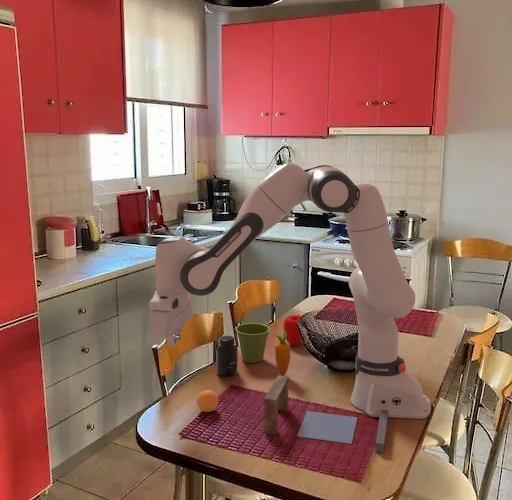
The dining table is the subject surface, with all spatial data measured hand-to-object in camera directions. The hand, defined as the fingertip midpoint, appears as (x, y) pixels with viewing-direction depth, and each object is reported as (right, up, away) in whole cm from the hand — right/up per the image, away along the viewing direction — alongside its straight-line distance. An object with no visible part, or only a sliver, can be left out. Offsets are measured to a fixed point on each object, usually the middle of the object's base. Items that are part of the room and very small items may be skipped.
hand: (174, 343), depth 162 cm
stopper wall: (+55, -22, -11) cm, 61 cm away
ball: (+9, -16, +1) cm, 19 cm away
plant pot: (+22, -12, +38) cm, 45 cm away
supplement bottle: (+13, -14, +27) cm, 33 cm away
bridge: (+28, -20, -4) cm, 35 cm away
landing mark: (+42, -21, -8) cm, 48 cm away
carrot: (+31, -15, +24) cm, 42 cm away
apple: (+37, -9, +52) cm, 64 cm away
